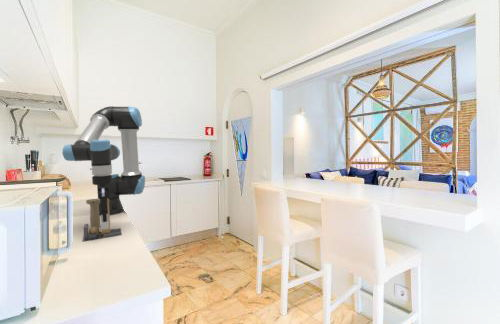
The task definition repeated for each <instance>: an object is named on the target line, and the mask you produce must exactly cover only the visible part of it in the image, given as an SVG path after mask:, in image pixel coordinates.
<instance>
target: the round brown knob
mask: <svg viewBox="0 0 500 324" xmlns="http://www.w3.org/2000/svg"><path fill="white" fill-rule="evenodd" d="M99 232H100V227H99V228H98V227H92V228H89V229H88V233H89V234H92V233H97V235H98V234H99Z"/></svg>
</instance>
